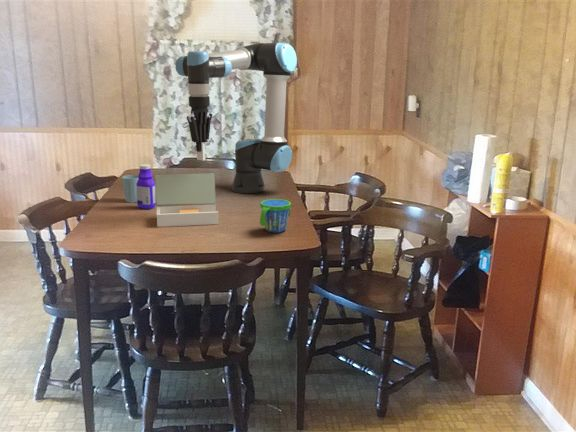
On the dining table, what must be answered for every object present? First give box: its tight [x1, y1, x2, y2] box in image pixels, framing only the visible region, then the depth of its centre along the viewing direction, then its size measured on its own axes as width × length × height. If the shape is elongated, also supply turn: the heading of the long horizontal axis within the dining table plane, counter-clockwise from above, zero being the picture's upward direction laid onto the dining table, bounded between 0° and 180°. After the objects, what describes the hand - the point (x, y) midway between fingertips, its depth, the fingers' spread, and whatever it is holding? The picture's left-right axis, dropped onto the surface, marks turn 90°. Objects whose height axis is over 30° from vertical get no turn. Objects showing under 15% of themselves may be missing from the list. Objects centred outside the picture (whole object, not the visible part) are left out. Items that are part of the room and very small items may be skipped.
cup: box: [121, 174, 139, 203], centre depth 244 cm, size 8×8×10 cm
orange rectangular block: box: [179, 210, 199, 213], centre depth 218 cm, size 7×4×4 cm, turn 98°
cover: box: [154, 172, 217, 207], centre depth 221 cm, size 22×12×1 cm
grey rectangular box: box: [156, 204, 220, 228], centre depth 217 cm, size 22×12×4 cm, turn 102°
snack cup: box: [259, 198, 292, 234], centre depth 206 cm, size 16×10×10 cm
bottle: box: [136, 163, 157, 210], centre depth 233 cm, size 7×6×17 cm
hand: (201, 159), depth 218 cm, fingers closed
